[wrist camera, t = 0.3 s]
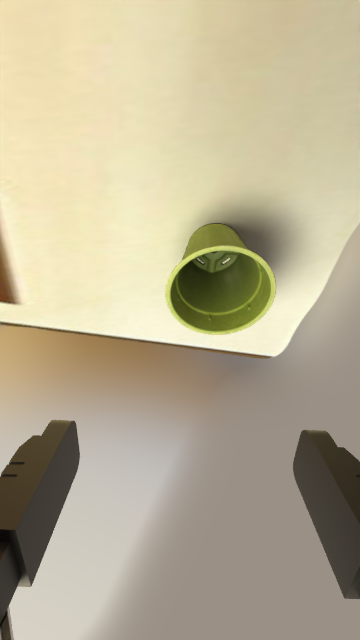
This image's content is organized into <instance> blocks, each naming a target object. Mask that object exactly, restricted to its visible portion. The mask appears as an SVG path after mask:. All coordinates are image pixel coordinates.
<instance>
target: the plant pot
mask: <svg viewBox="0 0 360 640" xmlns="http://www.w3.org/2000/svg"><path fill="white" fill-rule="evenodd" d="M214 251H216V252H214ZM198 257H199V259H200V260H201V261H203V262H204V264H203V265H202V264H200V263H199V262H198V261H197V260H196V258H198ZM228 258H231V259H230V260H229V261H228V262H227V263H225V264H224V265H222V264H221V263H222V262H224V261H225V260H226V259H228ZM275 293H276V281H275V276H274V273H273V271H272V269H271V268H270V266H269V265H268V264H267V262H266V261H265V260H264V259H263V258H261V257H260V256H259V255H257V254H256V253H254V252H252V251H250V250H248V248H247V247H246V246H245V244H244V243H243V242H242V240H241V239H240V238H239V236H238V235H237V234H236V232H235V231H234V230H233V229H231V228H230V227H228V226H226V225H223V224H209V225H205V226H203V227H201V228H199V229H198V230H197V231H196V232H195V233H194V234H193V235H192V237H191V238H190V241H189V243H188V246H187V248H186V251H185V254H184V256H183V259H182V261H181V262H180V263H179V264H178V265H177V266H176V267H175V269H174V270H173V271H172V273H171V275H170V277H169V279H168V282H167V285H166V301H167V305H168V307H169V309H170V311H171V313H172V314H173V316H174V317H175V318H176V319H177V320H178V321H179V322H180V323H181V324H183V325H184V326H186V327H187V328H189V329H191V330H193V331H196V332H200V333H204V334H212V335H222V334H230V333H234V332H238V331H241V330H243V329H245V328H248V327H250V326H251V325H253V324H254V323H256V322H257V321H258V320H260V319H261V318H262V317H263V316H264V315H265V314H266V312H267V311H268V310H269V308H270V307H271V305H272V303H273V300H274V297H275Z"/></svg>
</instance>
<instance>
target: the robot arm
mask: <svg viewBox="0 0 360 640" xmlns="http://www.w3.org/2000/svg"><path fill="white" fill-rule="evenodd" d="M79 457H80V453H79V445H78V436H77V428H76V423H75V421H64V420H52V421H51V422H50V423H49V424H48V426H47V427H46V429H45V431H44V432H43V434H42V436H32V437H31V438H30V439H29V440H27V442H25V443H24V444H23V445H21V446H20V447H19V449H18V450H17V452H16V453H15V454H14V456H13V457H12V459H11V460H10V462H9V465H7V466H6V468H5V469H4V471H3V472H2V473H1V477H0V640H14V638H13V631H12V624H11V617H10V610H9V604H10V602H11V599H12V597H13V595H14V592H15V590H16V588H17V586H22V587H23V586H24V587H31V586H32V583H33V581H34V578H35V576H36V573H37V571H38V568H39V566H40V563H41V561H42V558H43V556H44V553H45V551H46V548H47V545H48V543H49V541H50V538H51V536H52V533H53V530H54V528H55V525H56V523H57V520H58V518H59V515H60V513H61V510H62V508H63V505H64V502H65V500H66V498H67V495H68V493H69V490H70V488H71V485H72V482H73V480H74V478H75V475H76V472H77V469H78V465H79ZM293 471H294V476H295V480H296V483H297V485H298V488H299V490H300V492H301V495H302V497H303V500H304V502H305V504H306V507H307V509H308V511H309V514H310V516H311V519H312V521H313V524H314V526H315V528H316V531H317V533H318V535H319V538H320V540H321V543H322V545H323V547H324V550H325V553H326V554H327V557H328V560H329V562H330V565H331V567H332V569H333V572H334V574H335V576H336V579H337V582H338V584H339V586H340V589H341V591H342V594H343V596H344V598H348V599H360V462H359V460H357V459H356V458H355V457H354V456H353V455H352V454H351V453H349V452H348V451H347V450H346V449H345V448H342V447H337V445H336V444H335V442H334V440H333V439H332V437H331V436H330V435H329V433H328V432H326V431H315V430H303V431H302V432H301V435H300V439H299V442H298V446H297V450H296V454H295V458H294V462H293Z"/></svg>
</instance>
